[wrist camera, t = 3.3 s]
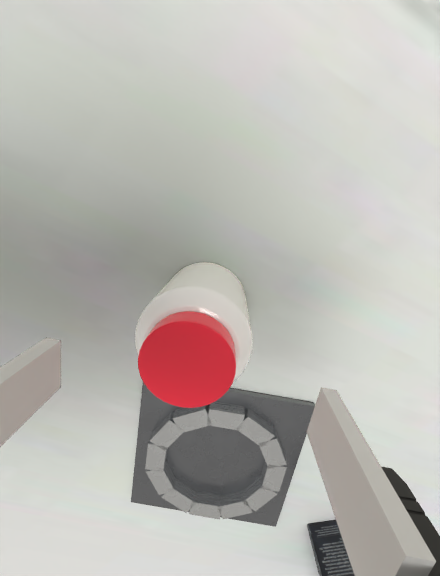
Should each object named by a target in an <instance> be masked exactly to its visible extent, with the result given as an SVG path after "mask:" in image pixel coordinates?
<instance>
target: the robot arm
mask: <svg viewBox="0 0 440 576" xmlns="http://www.w3.org/2000/svg"><path fill="white" fill-rule="evenodd" d="M60 387H61V340H56V339H51V338H45V339H43V340H41V341H40V342H38V343H37V344H35V345H34V346H32V347H31V348H29V349H28V350H26V351H25V352H23V353H21V354H20V355H18V356H17V357H15V358H14V359H12V360H11V361H9V362H8V363H6V364H5V365H3V366H1V367H0V447H1V446H2V445H3V444H4V443H5V442H6V441H7V440H8V439H9V438H10V437H11V436H12V435H13V434H14V433H15V432H16V431H17V430H18V429H19V428H20V427H21V426H22V425H23V424H24V423H25V422H26V421H27V420H28V419H29V418H30V417H31V416H32V415H33V414H34V413H35V412H36V411H37V410H38V409H39V408H40V407H41V406H42V405H43V404H44V403H45V402H46V401H47V400H48V399H49V398H50V397H51V396H52V395H53V394H54V393H55V392H56V391H57V390H58V389H59V388H60ZM307 434H308V437H309V440H310V443H311V446H312V449H313V452H314V455H315V458H316V461H317V464H318V467H319V470H320V473H321V476H322V479H323V482H324V485H325V488H326V491H327V494H328V497H329V500H330V503H331V506H332V509H333V512H334V515H335V518H336V521H337V524H338V527H339V530H340V533H341V536H342V539H343V542H344V545H345V548H346V551H347V554H348V557H349V560H350V563H351V566H352V569H353V572H354V575H355V576H440V536H439V534H438V533H437V531H436V530H435V528H434V526H433V525H432V523H431V522H430V520H429V519H428V517H427V516H425V512H424V511H423V509H422V508H421V506H420V505H419V503H418V502H416V498H415V497H414V495H413V494H412V492H411V490H410V489H409V487H408V486H407V484H406V483H405V482H404V481H403V480H402V479H401V478H400V477H399V476H398V475H397V474H396V472H395V471H394V470H393V469H391V468H385V467H381V466H380V464H379V462H378V461H377V459H376V457H375V456H374V454H373V452H372V450H371V449H370V447H369V445H368V444H367V442H366V440H365V438H364V437H363V435H362V433H361V431H360V430H359V428H358V426H357V425H356V423H355V421H354V419H353V418H352V416H351V414H350V413H349V411H348V409H347V407H346V406H345V404H344V402H343V401H342V399H341V397H340V395H339V394H338V392H337V390H333V389H327V388H322V387H321V389H320V392H319V395H318V399H317V402H316V405H315V408H314V411H313V414H312V417H311V420H310V423H309V426H308V429H307Z"/></svg>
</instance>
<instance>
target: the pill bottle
mask: <svg viewBox="0 0 440 576" xmlns="http://www.w3.org/2000/svg"><path fill="white" fill-rule="evenodd" d="M252 345H253V339H252V331H251V325H250V319H249V313H248V307H247V301H246V296H245V292H244V289H243V286H242V284H241V283H240V281H239V279H238V278H237V277H236V276H235V275H234V274H233V273H232V272H231V271H230V270H228V269H227V268H225V267H223V266H221V265H218V264H214V263H209V262H200V263H194V264H191V265H188V266H186V267H184V268H183V269H181V270H180V271H179V272H177V273H176V274H175V275H174V276H173V277H172V278H171V280H170V281H169V282H168V283H167V284H166V285H165V286H164V287H163V288H162V289H161V291H160V292H159V293H158V294H157V295H156V296H155V297H154V298H153V299H152V300H151V302H150V303H149V304H148V305H147V306H146V308H145V309H144V311H143V312H142V313H141V315H140V318H139V320H138V322H137V326H136V332H135V347H136V350H137V354H138V368H139V372H140V376H141V378H142V380H143V382H144V384H145V385H146V387H147V388H148V389H149V390H150V391H151V392H152V393H153V394H154V395H155V396H156V397H158V398H159V399H161V400H162V401H164V402H166V403H169V404H171V405H174V406H178V407H184V408H195V407H202V406H205V405H209V404H211V403H213V402H215V401H217V400H218V399H219V398H221V397H222V396H223V395H224V394H225V393H226V392H227V391H228V390H229V388H230V386H231V385H232V383H233V382H234V381H235V380H236V379H237V378H238V377H239V376H240V375H241V374H242V373H243V371H244V370H245V368H246V366H247V365H248V363H249V360H250V357H251V353H252Z"/></svg>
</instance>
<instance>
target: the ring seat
mask: <svg viewBox="0 0 440 576" xmlns="http://www.w3.org/2000/svg"><path fill="white" fill-rule="evenodd" d="M314 408H315V404H314V403H313V402H308V401H302V400H296V399H290V398H285V397H279V396H273V395H267V394H261V393H256V392H250V391H244V390H238V389H233V388H229V390H228V391H227V392H226V393H225V394H224V395H223V396H222V397H221V398H219V399H218V400H217V401H215V402H213V403H211V404H209V405H205V406H202V407H195V408H184V407H178V406H174V405H171V404H169V403H166V402H164V401H162V400H161V399H159V398H158V397H156V396H155V395H154V394H153V393H152V392H151V391H150V390H149V389H148V388H147V387H146V385H145V384H144V382H143V388H142V398H141V408H140V418H139V428H138V438H137V448H136V457H135V467H134V477H133V487H132V497H131V502H134V503H140V504H146V505H152V506H158V507H163V508H169V509H175V510H181V511H184V512H185V513H186V512H189V514H192V515H197V516H203V517H209V518H215V519H220V517H222V518H223V519H226V518H228V519H234V520H240V521H246V522H252V523H258V524H264V525H270V526H276V524H277V521H278V518H279V515H280V512H281V509H282V506H283V503H284V500H285V497H286V494H287V491H288V488H289V485H290V482H291V479H292V476H293V473H294V470H295V467H296V464H297V461H298V458H299V455H300V452H301V449H302V446H303V443H304V440H305V437H306V434H307V429H308V426H309V423H310V420H311V417H312V414H313V411H314Z"/></svg>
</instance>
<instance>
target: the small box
mask: <svg viewBox="0 0 440 576" xmlns="http://www.w3.org/2000/svg"><path fill="white" fill-rule="evenodd" d="M308 531H309V535H310V539H311V543H312V547H313V551H314V556H315V561H316V564H317V568H318V573H319V575H320V576H355V575H354V572H353V569H352V566H351V563H350V560H349V557H348V554H347V551H346V548H345V545H344V542H343V539H342V536H341V533H340V530H339V527H338V524H337V521H336V520H334V521H327V522H320V523H313V524H308Z"/></svg>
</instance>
